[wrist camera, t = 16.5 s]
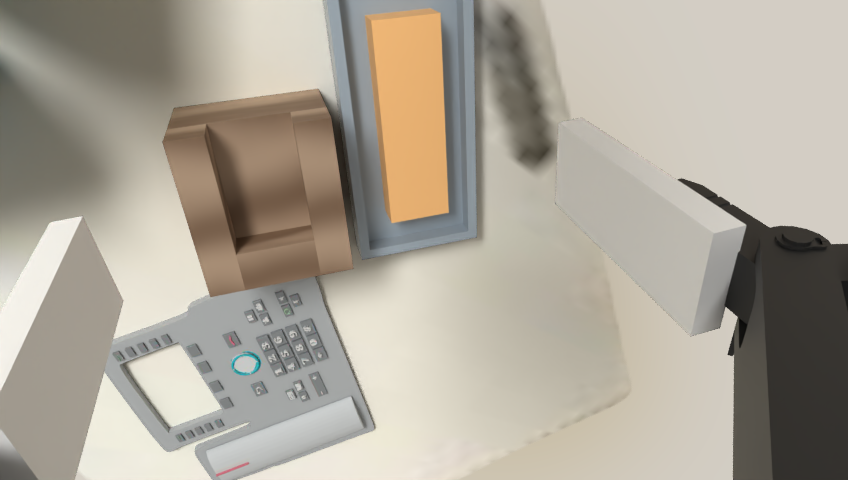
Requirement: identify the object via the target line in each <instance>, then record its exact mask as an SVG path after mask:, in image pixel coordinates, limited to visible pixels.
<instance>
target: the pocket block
mask: <svg viewBox="0 0 848 480" xmlns="http://www.w3.org/2000/svg"><path fill="white" fill-rule="evenodd" d="M163 145H164V149H165V152H166V155H167V158H168V162H169V165H170V168H171V171H172V175H173V178H174V181H175V184H176V187H177V191H178V194H179V197H180V200H181V204H182V207H183V210H184V213H185V217H186V220H187V223H188V226H189V229H190V233H191V236H192V239H193V242H194V246H195V249H196V252H197V255H198V259H199V262H200V265H201V268H202V271H203V275H204V278H205V281H206V284H207V288H208V291H209V294H210V297H215V296H220V295H225V294H230V293H235V292H240V291H245V290H250V289H255V288H260V287H265V286H270V285H275V284H280V283H285V282H290V281H294V280H299V279H304V278H309V277H314V276H319V275H324V274H329V273H334V272H339V271H344V270H349V269H353V263H352V256H351V249H350V242H349V236H348V229H347V222H346V215H345V208H344V202H343V195H342V188H341V181H340V174H339V167H338V161H337V154H336V147H335V140H334V133H333V127H332V120H331V116H330V114H329V112H328V110H327V107H326V105H325V103H324V101H323V98H322V96H321V94H320V92H319V90H318V89H314V90H306V91H299V92H291V93H284V94H276V95H269V96H261V97H254V98H246V99H239V100H231V101H224V102H216V103H209V104H201V105H194V106H186V107H179V108H174V110H173V113H172V116H171V119H170V121H169V124H168V127H167V130H166V133H165V136H164V139H163Z"/></svg>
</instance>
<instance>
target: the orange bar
mask: <svg viewBox="0 0 848 480" xmlns="http://www.w3.org/2000/svg"><path fill="white" fill-rule="evenodd" d="M365 23H366V33H367V42H368V52H369V61H370V71H371V80H372V90H373V99H374V109H375V118H376V128H377V137H378V147H379V156H380V166H381V175H382V185H383V194H384V204H385V211H386V213H387V215H388V217H389V219H390V221H391V223H396V222H401V221H406V220H412V219H417V218H423V217H428V216H433V215H439V214H444V213H449V207H448V183H447V158H446V134H445V110H444V86H443V61H442V37H441V13H439V12H437V11H435V10H433V9H431V8H428V9H419V10H409V11H400V12H391V13H381V14H372V15H365Z"/></svg>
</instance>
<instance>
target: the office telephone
mask: <svg viewBox="0 0 848 480" xmlns="http://www.w3.org/2000/svg"><path fill="white" fill-rule="evenodd" d="M178 342H179V344H180V345H181V346H182V348H183V349H184V351H185V352H186V353H187V355H188V357H189V358H190V360H191V361H192V363H193V364H194V366H195V367H196V369H197V370H198V372H199V373H200V375H201V376H202V378H203V379H204V381H205V382H206V384H207V386H208V387H209V389H210V390H211V392H212V393H213V395H214V396H215V398H216V400H217V401H218V403H219V404H220V406H221V408H222V409H220V410H217V411H215V412H212V413H210V414H207V415H204V416H202V417H199V418H196V419H193V420H191V421H188V422H185V423H182V424H180V425H177V426H174V427H171V428H169V427H168V426H167V425H166V424H165V422H164V421H163V420H162V418H161V417H160V416H159V415H158V413H157V412H156V411H155V409H154V408H153V407H152V405H151V404H150V403H149V401H148V400H147V399H146V397H145V396H144V394H143V393H142V392H141V390H140V389H139V388H138V386H137V385H136V384H135V382H134V381H133V379H132V378H131V376H130V375H129V373H128V372H127V370H126V369H125V367H124V365H123V363H125V362H127V361H130V360H132V359H135V358H137V357H140V356H143V355H145V354H148V353H150V352H153V351H156V350H158V349H161V348H164V347H167V346H170V345H172V344H175V343H178ZM258 360H259V361H258ZM104 372H105V373H106V375H107V376H108V377H109V379H110V380H111V381H112V383H113V384H114V386H115V387H116V388H117V390H118V391H119V392H120V394H121V395H122V397H123V398H124V399H125V401H126V402H127V403H128V405H129V406H130V407H131V409H132V410H133V411H134V413H135V414H136V415H137V416H138V418H139V419H140V420H141V422H142V423H143V424H144V426H145V427H146V428H147V430H148V431H149V432H150V434H151V435H152V436H153V437H154V439H155V440H156V441H157V442H158V443H159V444H160V446H161V447H162V448H163V449H164V450H165V451H167V452H171V451H174V450H175V449H177V448H179V447H182V446H184V445H187V444H189V443H192V442H195V441H197V440H200V439H202V438H205V437H208V436H210V435H213V434H216V433H218V432H221V431H224V430H226V429H229V428H232V427H235V426H237V425H240V424H243V423H245V422H250V423H249V424H248V425H246V426H244V427H241V428H239V429H236V430H233V431H231V432H228V433H226V434H223V435H221V436H218V437H216V438H213V439H210V440H208V441H205V442H203V443H200V444H198V445H196V447H195V455H196V456H197V458H198V460H199V461H200V463H201V464H202V466H203V467H204V469H205V470H206V471H207V473H208V474H209V476H210V477H211V478H212V480H237V479H240V478H243V477H246V476H249V475H251V474H254V473H257V472H260V471H263V470H265V469H267V468H270V467H272V466H277V465H280V464H283V463H286V462H289V461H291V460H294V459H297V458H300V457H302V456H305V455H308V454H310V453H313V452H316V451H318V450H321V449H324V448H327V447H329V446H332V445H335V444H337V443H340V442H343V441H345V440H348V439H351V438H354V437H356V436H359V435H362V434H365V433H368V432H370V431H373V430H374V424H373V421H372V419H371V416H370V414H369V411H368V409H367V406H366V404H365V401H364V399H363V396H362V394H361V392H360V389H359V387H358V384H357V382H356V380H355V377H354V375H353V372H352V370H351V367H350V365H349V363H348V360H347V358H346V355H345V353H344V350H343V348H342V346H341V343H340V341H339V338H338V336H337V333H336V331H335V328H334V326H333V324H332V321H331V319H330V316H329V314H328V311H327V309H326V306H325V304H324V301H323V298H322V293H321V290H320V287H319V284H318V282H317V279H316V277H315V276H314V277H309V278H304V279H299V280H294V281H290V282H285V283H280V284H275V285H270V286H265V287H260V288H255V289H250V290H245V291H240V292H235V293H230V294H225V295H220V296H215V297H210V295H207V296H205V297H203V298H200V299H198V300H196V301H194V302H192V303H191V304H190V305H189V306H188V311H187V312H185V313H183V314H181V315H178V316H176V317H173V318H171V319H168V320H165V321H163V322H160V323H158V324H155V325H152V326H150V327H147V328H144V329H141V330H138V331H136V332H133V333H130V334H127V335H124V336H122V337H119V338H116V339H113V341H112V345H111V348H110V352H109V356H108V359H107V363H106V367H105V370H104Z"/></svg>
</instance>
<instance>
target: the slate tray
mask: <svg viewBox="0 0 848 480" xmlns="http://www.w3.org/2000/svg"><path fill="white" fill-rule="evenodd" d="M323 5H324V12H325V19H326V26H327V34H328V41H329V48H330V55H331V62H332V70H333V77H334V84H335V91H336V98H337V105H338V113H339V120H340V127H341V134H342V141H343V148H344V156H345V163H346V170H347V177H348V184H349V191H350V199H351V206H352V213H353V220H354V227H355V234H356V242H357V247H358V250H359V253H360V256H361V258H362V260H364V259H369V258H374V257H379V256H384V255H389V254H394V253H399V252H404V251H409V250H415V249H420V248H425V247H430V246H435V245H440V244H445V243H450V242H455V241H460V240H465V239H470V238H475V237H477V213H476V142H475V71H474V0H323ZM428 8H431V9H433V10H435V11H437V12H439V13H441V37H442V61H443V86H444V110H445V134H446V158H447V183H448V207H449V213H444V214H439V215H433V216H428V217H423V218H417V219H412V220H406V221H401V222H396V223H391V221H390V219H389V217H388V215H387V213H386V211H385V204H384V194H383V185H382V175H381V166H380V156H379V147H378V137H377V128H376V118H375V109H374V99H373V90H372V80H371V71H370V61H369V52H368V42H367V33H366V23H365V15H372V14H381V13H391V12H400V11H409V10H419V9H428Z"/></svg>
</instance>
